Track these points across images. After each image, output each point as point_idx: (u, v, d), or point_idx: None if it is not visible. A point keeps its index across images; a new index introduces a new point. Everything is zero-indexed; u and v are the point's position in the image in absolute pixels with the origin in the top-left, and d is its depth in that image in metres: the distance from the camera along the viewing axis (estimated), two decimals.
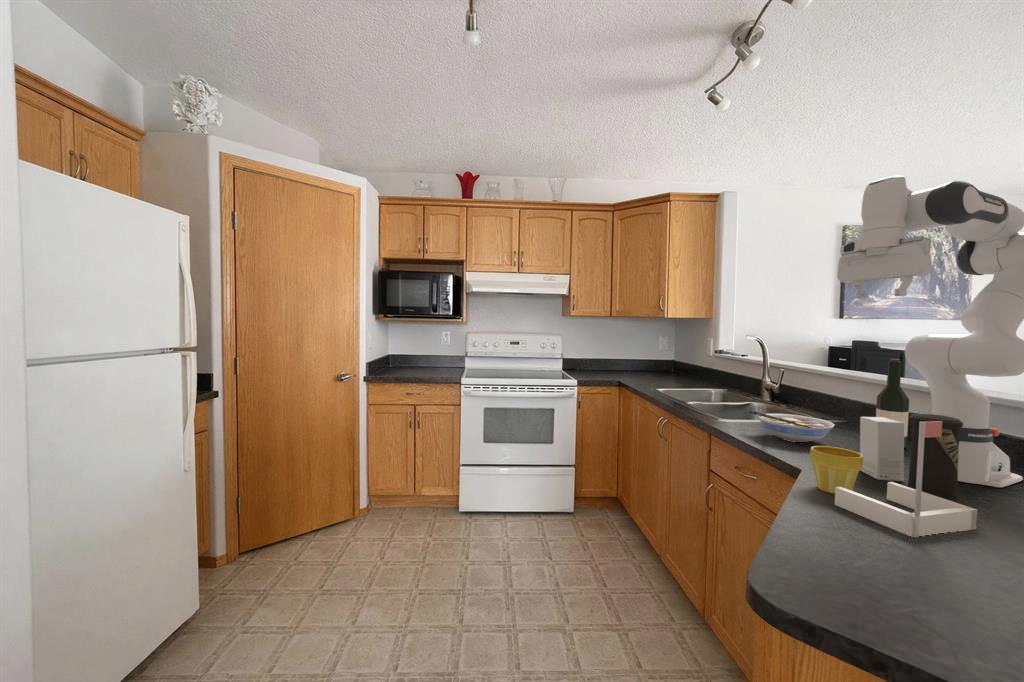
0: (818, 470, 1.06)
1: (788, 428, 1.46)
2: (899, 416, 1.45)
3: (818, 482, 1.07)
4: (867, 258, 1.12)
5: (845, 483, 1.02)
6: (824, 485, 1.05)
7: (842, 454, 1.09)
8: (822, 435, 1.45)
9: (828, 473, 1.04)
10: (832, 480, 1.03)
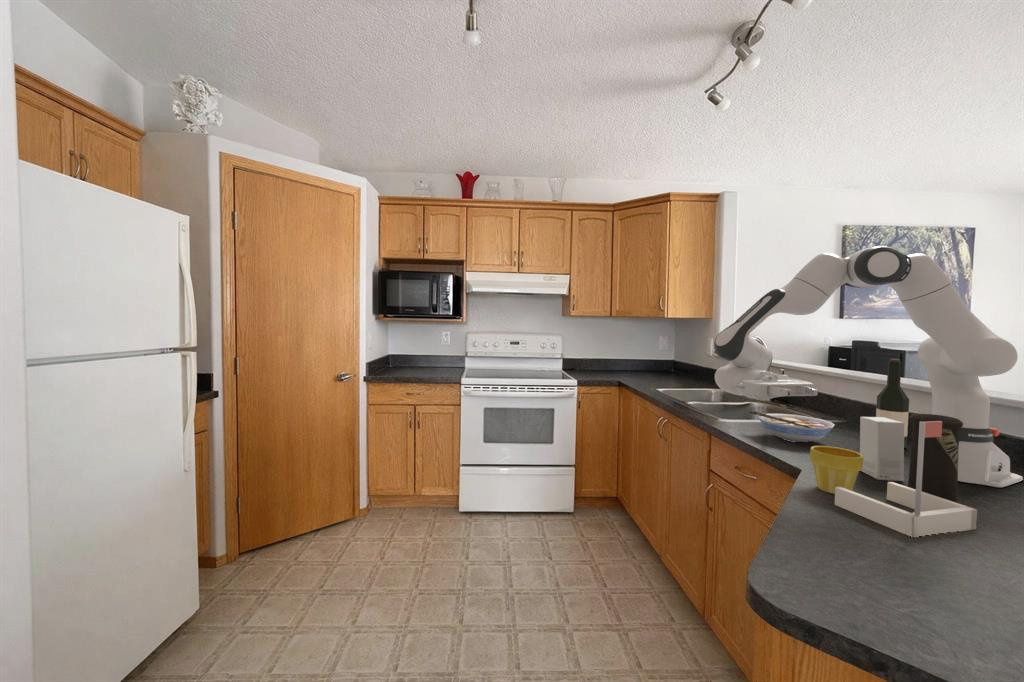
0: (818, 470, 1.06)
1: (788, 428, 1.46)
2: (899, 416, 1.45)
3: (818, 482, 1.07)
4: None
5: (845, 483, 1.02)
6: (824, 485, 1.05)
7: (842, 454, 1.09)
8: (822, 435, 1.45)
9: (828, 473, 1.04)
10: (832, 480, 1.03)
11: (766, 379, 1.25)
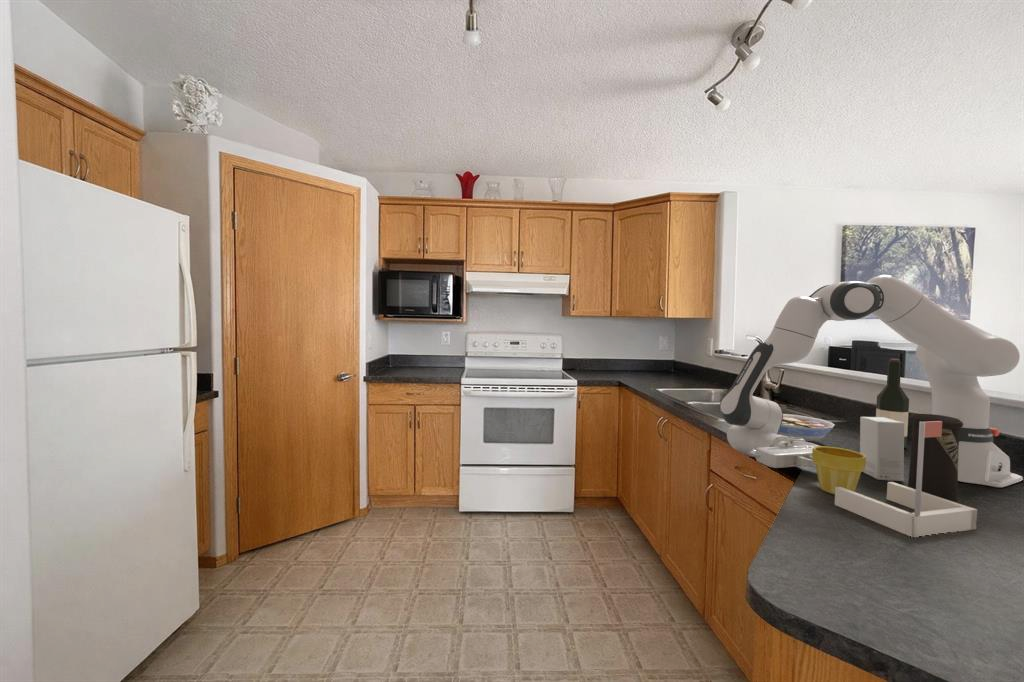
0: (820, 470, 1.05)
1: (788, 428, 1.46)
2: (899, 416, 1.45)
3: (820, 483, 1.06)
4: None
5: (847, 483, 1.02)
6: (826, 486, 1.04)
7: (845, 455, 1.08)
8: (822, 435, 1.45)
9: (830, 474, 1.03)
10: (834, 481, 1.03)
11: (782, 445, 1.20)
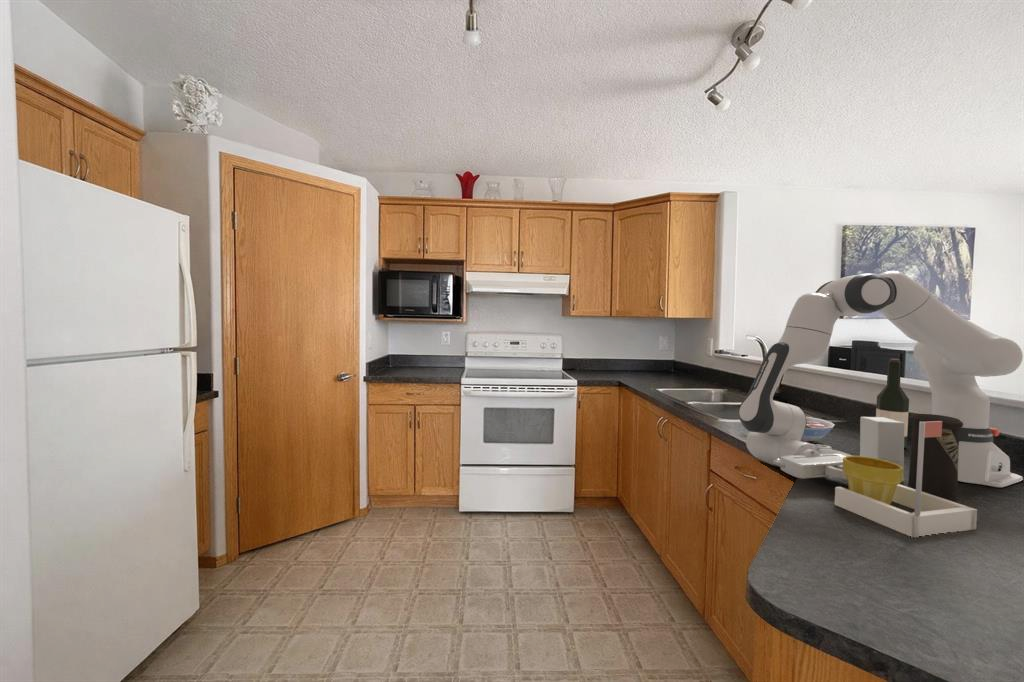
0: (852, 482, 0.98)
1: None
2: (898, 416, 1.45)
3: None
4: None
5: (881, 497, 0.94)
6: None
7: (879, 465, 1.00)
8: (822, 435, 1.45)
9: (862, 486, 0.96)
10: (867, 493, 0.95)
11: (808, 454, 1.12)
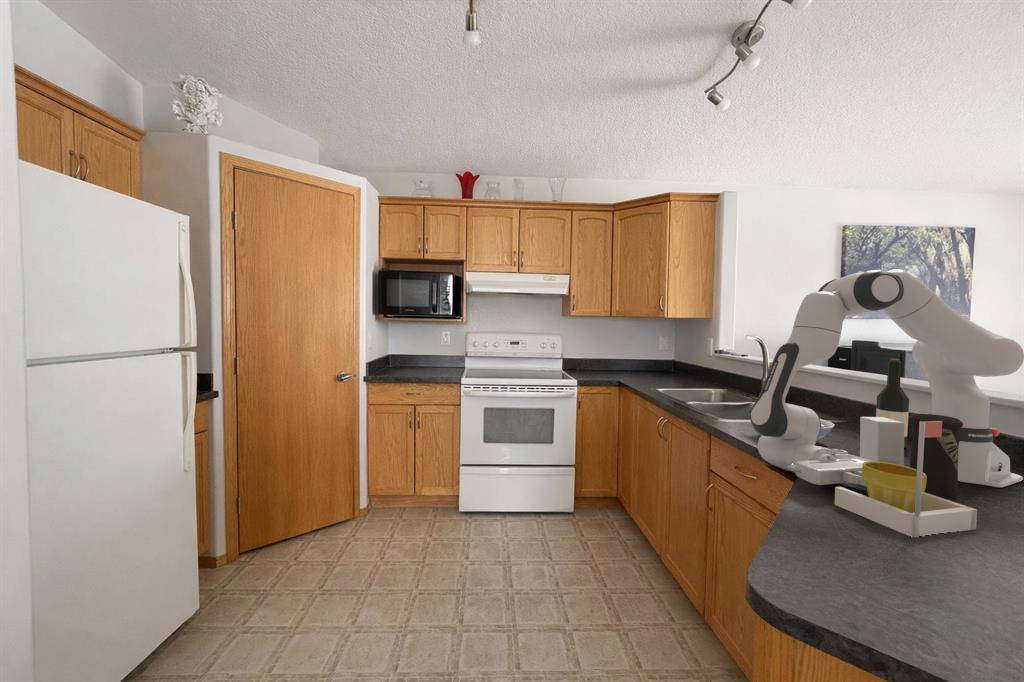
0: (872, 489, 0.93)
1: None
2: (899, 416, 1.45)
3: None
4: None
5: (903, 505, 0.90)
6: None
7: (901, 472, 0.96)
8: (822, 435, 1.45)
9: (883, 493, 0.91)
10: (888, 501, 0.91)
11: (824, 459, 1.08)
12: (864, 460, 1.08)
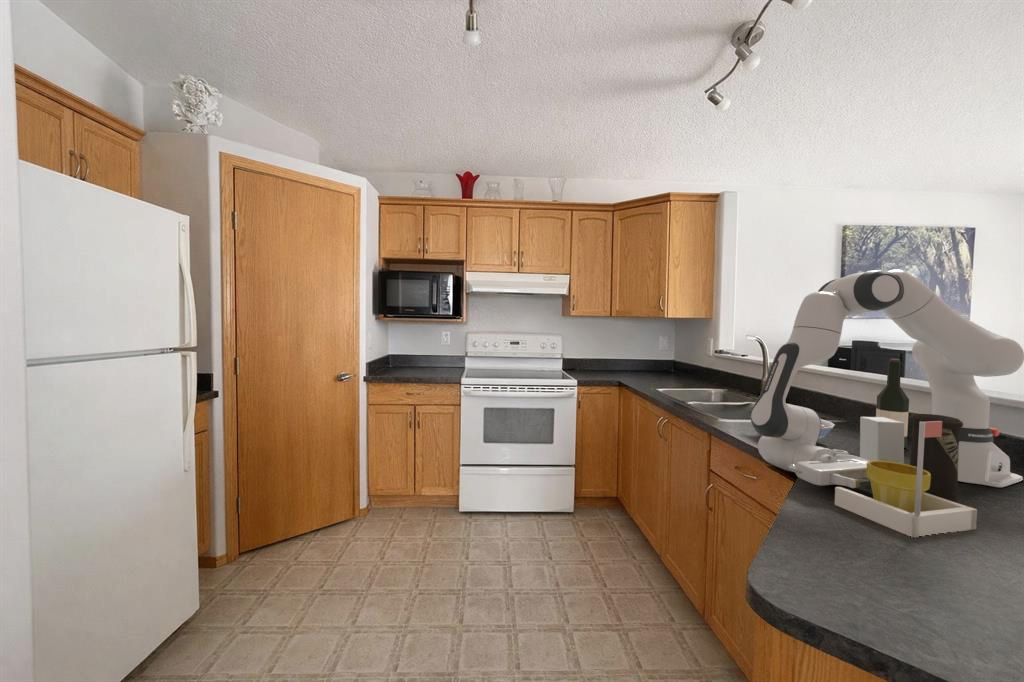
0: (872, 485, 0.96)
1: None
2: (899, 416, 1.45)
3: None
4: None
5: (899, 502, 0.91)
6: None
7: (914, 473, 0.95)
8: (822, 435, 1.45)
9: (879, 489, 0.94)
10: (884, 497, 0.93)
11: (825, 459, 1.07)
12: (865, 460, 1.08)
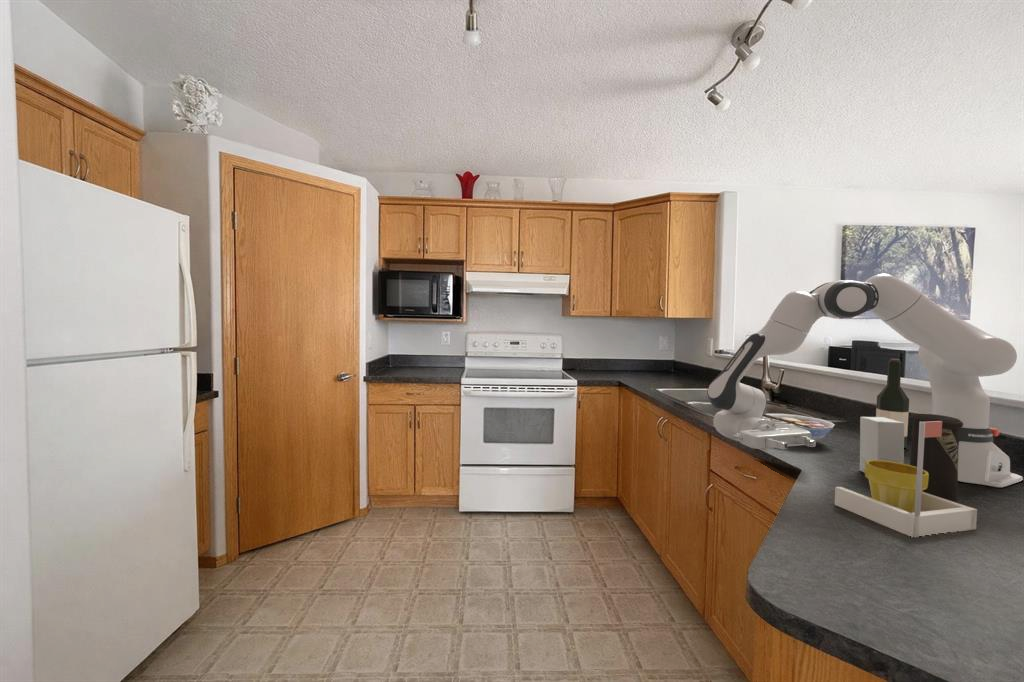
0: (870, 484, 0.96)
1: None
2: (899, 416, 1.45)
3: None
4: None
5: (898, 502, 0.92)
6: None
7: (911, 472, 0.96)
8: (822, 435, 1.45)
9: (878, 489, 0.94)
10: (883, 497, 0.93)
11: (764, 428, 1.26)
12: (798, 428, 1.26)
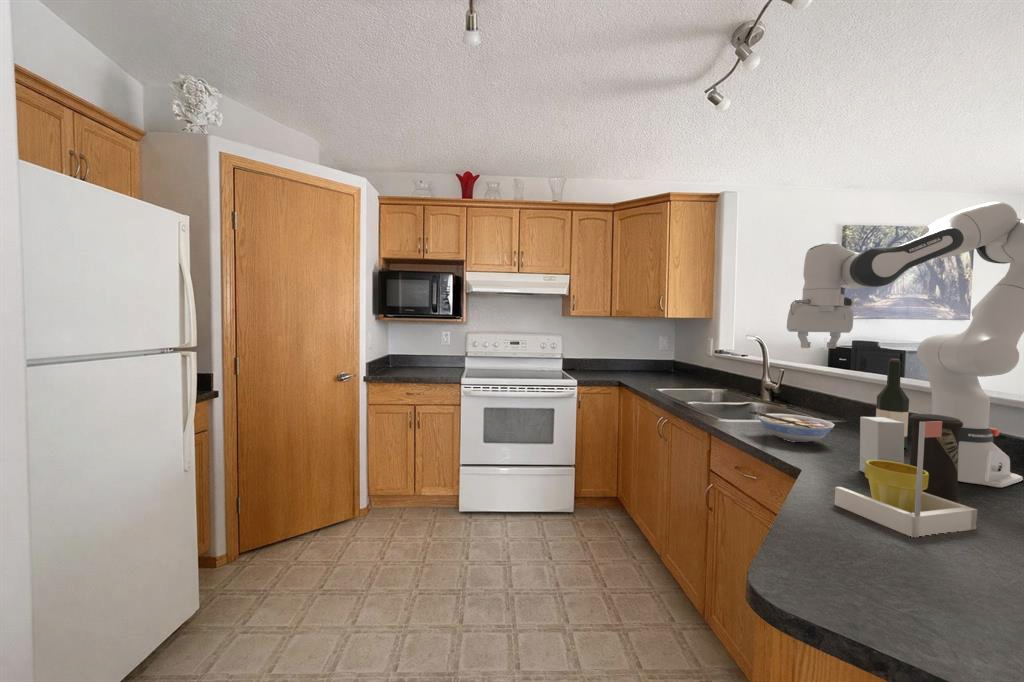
0: (870, 485, 0.96)
1: (788, 428, 1.46)
2: (899, 416, 1.45)
3: None
4: None
5: (898, 502, 0.92)
6: None
7: (911, 472, 0.96)
8: (822, 435, 1.45)
9: (878, 489, 0.94)
10: (883, 497, 0.93)
11: (823, 311, 1.22)
12: (850, 320, 1.25)
